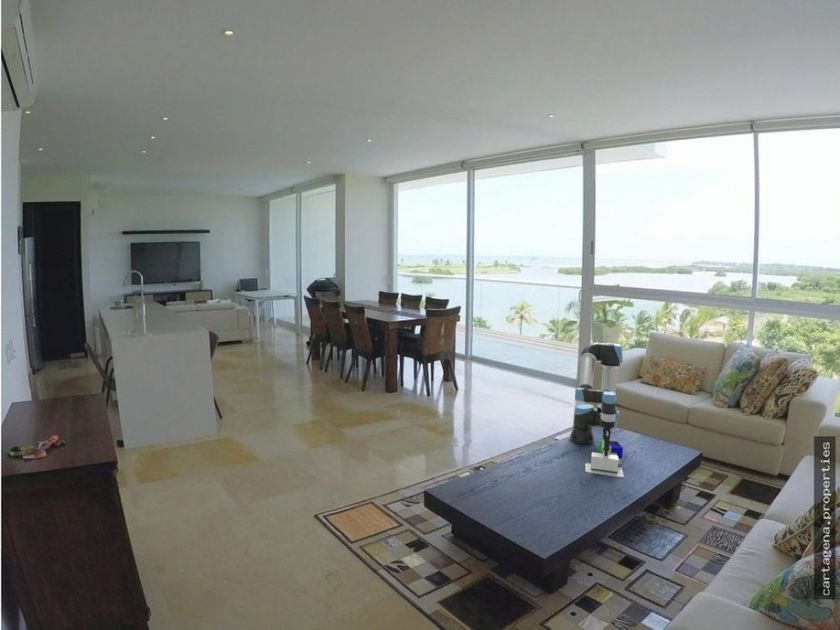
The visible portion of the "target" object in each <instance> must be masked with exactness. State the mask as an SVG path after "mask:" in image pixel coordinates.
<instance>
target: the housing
mask: <svg viewBox="0 0 840 630" xmlns="http://www.w3.org/2000/svg"><path fill="white" fill-rule="evenodd" d="M590 459H591V460H590V464H591V468H593V469H601V470H608V471H615V472H618V468H619V464H618V461H619V459H618V456H617V455H609V456H608V461H603V454H601V453H599V452H593V451H592V452H591V458H590Z"/></svg>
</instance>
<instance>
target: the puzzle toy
mask: <svg viewBox="0 0 840 630" xmlns="http://www.w3.org/2000/svg"><path fill="white" fill-rule="evenodd" d="M602 444H603V440H600V441H599V448H598V449H599V451H598V453H601V454H603V451H602ZM623 451H624V448H623V446H622V445H621V444H620V443H619V442H618V441H617V440H609V455H617V456H618V459H619V461H618V465H622V464H623Z"/></svg>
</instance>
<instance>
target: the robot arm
mask: <svg viewBox="0 0 840 630" xmlns="http://www.w3.org/2000/svg"><path fill="white" fill-rule="evenodd" d="M623 358H624V357H623V348H622V344H618V343H613V342H612V343H611V342H609V343H608V342H598V341H597V342H592V343H589V344H588V345H586V346H585V347H584V348H583V349H582V350H581V353H580V358H579V360H580V362H581V365H580V377H579V387H576V388H575V391H574V393H575V394H574V399H575V401H577V402H583V404H578V405H576V406H575V407H574V412H573V428H572V430H571V432H570V435H569V440H570V441H571V442H573V443H575V444H577V445H586V446H587V445H593V444H594V443H595V436H594V432H593V427H594V428H595V427H596V428H602V441H603V444H602V451H603V461H608V456H609V441H611V440H610V439H611V432H612V430H614V429H615V428H616V427H617V425H618V421H619V415H620V410H617V409H618V407H617V400H618V398H617V394H616V390H617V378H618V377H617V376H618V375H617V373H618V369H619V368H620V366H621V364H623V363H624V362H623V361H624V360H623ZM596 362H600V366H601V367H602V373H601V386H600V387H601V389H594V375H595V364H596ZM584 402H585V403H584ZM589 403H594V404H597V407H596V408H595V406H594V405H593V404H589Z"/></svg>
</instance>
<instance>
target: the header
mask: <svg viewBox="0 0 840 630" xmlns="http://www.w3.org/2000/svg"><path fill="white" fill-rule="evenodd" d="M584 464H585V468H584V471H585V473H587V474H588V473H589V474H595V475H603V476H609V477H610V476H611V477H616V478H622V479H623V478H625V477H624V470H623V467H618V472H615V471H608V470H601V469H593V468H591V463H590V462H589V463H587V462H586V463H584Z"/></svg>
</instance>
